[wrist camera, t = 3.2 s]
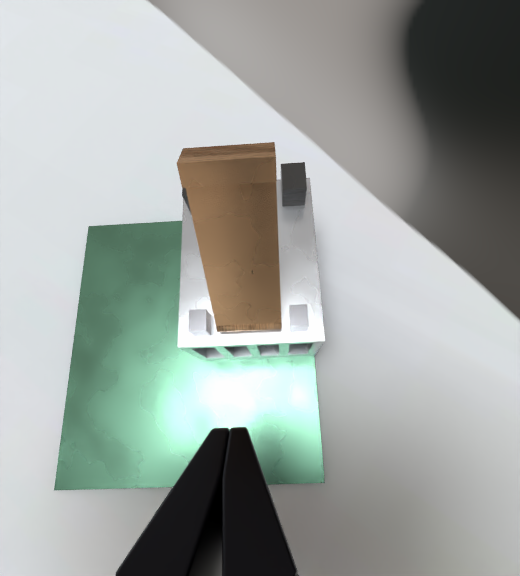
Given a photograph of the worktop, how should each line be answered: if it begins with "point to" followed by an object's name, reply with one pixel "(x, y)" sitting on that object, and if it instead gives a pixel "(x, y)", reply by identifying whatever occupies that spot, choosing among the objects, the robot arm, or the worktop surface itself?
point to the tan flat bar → (236, 231)
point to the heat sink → (189, 357)
